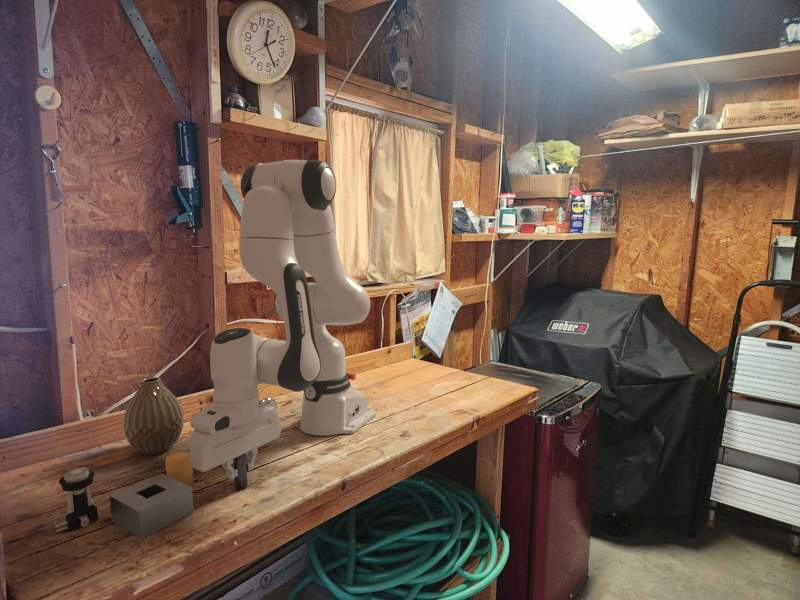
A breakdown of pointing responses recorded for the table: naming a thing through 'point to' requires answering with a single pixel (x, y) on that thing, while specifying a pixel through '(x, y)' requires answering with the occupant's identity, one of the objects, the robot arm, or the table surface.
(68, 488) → the push button
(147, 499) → the bore block
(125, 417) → the vase
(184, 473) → the orange rounded tapered piece
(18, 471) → the table surface
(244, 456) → the cylinder
